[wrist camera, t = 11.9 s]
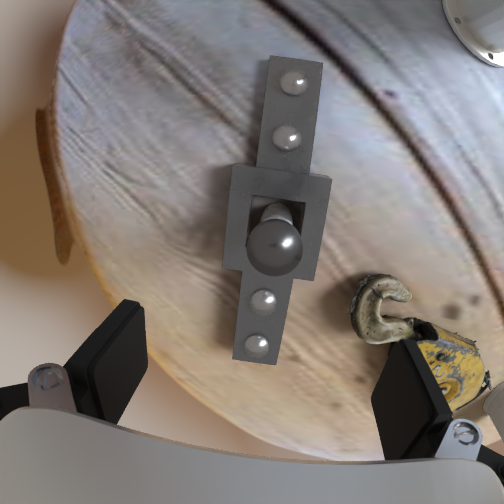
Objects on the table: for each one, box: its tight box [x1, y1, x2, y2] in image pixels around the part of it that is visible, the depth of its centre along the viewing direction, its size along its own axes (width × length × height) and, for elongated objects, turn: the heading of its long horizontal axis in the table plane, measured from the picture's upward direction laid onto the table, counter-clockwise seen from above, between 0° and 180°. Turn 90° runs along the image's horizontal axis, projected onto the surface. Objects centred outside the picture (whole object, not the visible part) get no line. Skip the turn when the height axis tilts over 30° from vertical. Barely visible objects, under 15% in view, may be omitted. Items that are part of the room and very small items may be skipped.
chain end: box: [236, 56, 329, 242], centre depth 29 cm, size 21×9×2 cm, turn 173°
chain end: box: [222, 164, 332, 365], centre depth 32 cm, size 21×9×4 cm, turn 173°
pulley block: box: [347, 273, 492, 411], centre depth 34 cm, size 14×6×30 cm
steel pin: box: [246, 203, 303, 276], centre depth 27 cm, size 4×4×10 cm
